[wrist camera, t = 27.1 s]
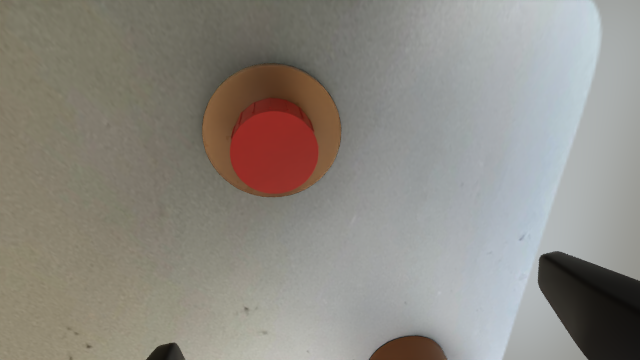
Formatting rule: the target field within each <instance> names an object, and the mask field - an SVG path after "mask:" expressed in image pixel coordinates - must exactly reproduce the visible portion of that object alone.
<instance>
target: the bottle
mask: <svg viewBox="0 0 640 360" xmlns="http://www.w3.org/2000/svg"><path fill="white" fill-rule="evenodd" d="M370 360H447V358H446V356H445V354H444V352H443V350H442V349H441V347H440V346H439V345H438V344H437V343H436V342H434V341H433V340H431V339H428V338H425V337H421V336H408V337H402V338H398V339H395V340H393V341H390V342H388V343H387V344H385V345H383V346H382V347H380V348H379V349H378V350H377V351H376V352H375V353H374V354H373V355H372V357H371V358H370Z"/></svg>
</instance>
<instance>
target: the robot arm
mask: <svg viewBox="0 0 640 360" xmlns="http://www.w3.org/2000/svg"><path fill="white" fill-rule="evenodd" d="M538 284H539V287H540V289H541V291H542V293H543V294H544V296H545V297H546V299H547V300H548V302H549V303H550V305H551V307H552V308H553V310H554V311H555V313H556V314H557V316H558V317H559V319H560V320H561V322H562V323H563V325H564V326H565V328H566V329H567V331H568V333H569V334H570V336H571V337H572V339H573V340H574V341H575V343H576V344H577V346H578V347H579V348H580V350H581V351H582V352H583V354H584V355H585V356H586V357H587V359H588V360H640V281H638V280H635V279H633V278H630V277H628V276H625V275H622V274H619V273H617V272H614V271H611V270H608V269H606V268H603V267H600V266H598V265H595V264H592V263H590V262H587V261H584V260H581V259H579V258H576V257H573V256H570V255H568V254H565V253H562V252H559V251H555V252H551V253H546V254H543V255H541V257H540V259H539V270H538ZM146 360H185V358H184V356H183V354H182V352H181V350H180V348H179V346H178V345H177V344H176V343H168V344H164V345H160V346H158V347H157V348H156V349H155V350H154V351H153V352H152V353H151V354H150V356H149V357H148V358H147V359H146Z"/></svg>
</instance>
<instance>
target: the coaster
mask: <svg viewBox="0 0 640 360" xmlns="http://www.w3.org/2000/svg"><path fill="white" fill-rule="evenodd" d="M268 98H278V99H283V100H285V99H286V100H287V101H289V102H291V103H293V104H295V105H296V106H298V107H300V108H301V110H302V111H303V112H304V113H305V114H306V116H307V117H308V119H310V121H311V123H312V126H313V128H314V131H315V132H314V134H315V137H316V140H317V143H318V146H319V148H318V150H319V155H318V161H317V165H316V168H315V170H314V172H313V173H312V175H311V176H310V178H309V179H308V180H307V181H306V182H305V183H303V184H302V185H301V186H299V187H298V188H296V189H294V190H291V191H289V192H285V193H279V194H269V193H264V192H260V191H257V190H255V189H253V188H251V187H249V186H248V185H246V184H245V183H244V182H243V181H242V180H241V179H240V178H239V177H238V176H237V174H236V173H235V171H234V169H233V167H232V163H231V160H230V144H231V141H232V139H231V135H232V131H233V127H234V126H235V125H236V122H237V120H238V118H239V116H240V113H241V112H243V111H244V110H245V109H246V108H247V107H248V106H250V105H251V104H253V102H257V101H260V100H263V99H268ZM202 136H203V143H204V147H205V150H206V153H207V155H208V158H209V160H210V162H211V163H212V165H213V167H214V168H215V169H216V170H217V172H218V173H219V174H220V175H221V176H222V177H223V178H224V179H225V180H226V181H228V182H229V183H230V184H231V185H233V186H235V187H236V188H238V189H240V190H242V191H244V192H247V193H250V194H253V195H257V196H262V197H282V196H288V195H292V194H295V193H298V192H300V191H303V190H305V189H307V188H308V187H310V186H312V185H313V184H314V183H316V182H317V181H318V180H319V179H320V178H321V177H322V176H323V175H324V174H325V173H326V172H327V171H328V169H329V168H330V167H331V165H332V163H333V162H334V160H335V157H336V155H337V153H338V149H339V146H340V140H341V123H340V118H339V114H338V110H337V108H336V105H335V103H334V101H333V100H332V98H331V96H330V95H329V93H328V92H327V91H326V89H325V88H324V87H323V86H322V85H321V84H320V83H319V82H318V81H317V80H316V79H315V78H313V77H312V76H311V75H309V74H307V73H306V72H304V71H302V70H300V69H297V68H295V67H292V66H288V65H284V64H276V63H264V64H258V65H253V66H250V67H247V68H244V69H242V70H240V71H238V72H236V73H234V74H233V75H231V76H230V77H228V78H227V79H226V80H225V81H224V82H223V83H222V84H221V85H220V86H219V87H218V88H217V89H216V91H215V92H214V94H213V95H212V97H211V99H210V101H209V103H208V105H207V107H206V110H205V113H204V117H203V124H202Z"/></svg>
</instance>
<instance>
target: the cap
mask: <svg viewBox="0 0 640 360" xmlns="http://www.w3.org/2000/svg"><path fill="white" fill-rule="evenodd" d="M314 132H315V131H314V128H313V126H312V123H311V121H310V119H308V117H307V116H306V114H305V113H304V112H303V111H302V110H301V108H300V107H298V106H296V105H295V104H293V103H291V102H289V101H287V100H286V99H285V100H283V99H278V98H268V99H263V100H260V101H257V102H253V104H251V105H250V106H248V107H247V108H246V109H245V110H244V111H243V112H241V113H240V116H239V118H238V120H237V122H236V125H235V126H234V127H233V131H232V135H231V139H232V141H231V144H230V160H231V163H232V167H233V169H234V171H235V173H236V174H237V176H238V177H239V178H240V179H241V180H242V181H243V182H244V183H245V184H246V185H248V186H249V187H251V188H253V189H255V190H257V191H260V192H264V193H269V194H279V193H285V192H289V191H291V190H294V189H296V188H298V187H299V186H301V185H302V184H303V183H305V182H306V181H307V180H308V179H309V178H310V176H311V175H312V173H313V172H314V170H315V168H316V165H317V161H318V155H319V150H318V148H319V146H318V143H317V140H316V137H315V134H314Z"/></svg>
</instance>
